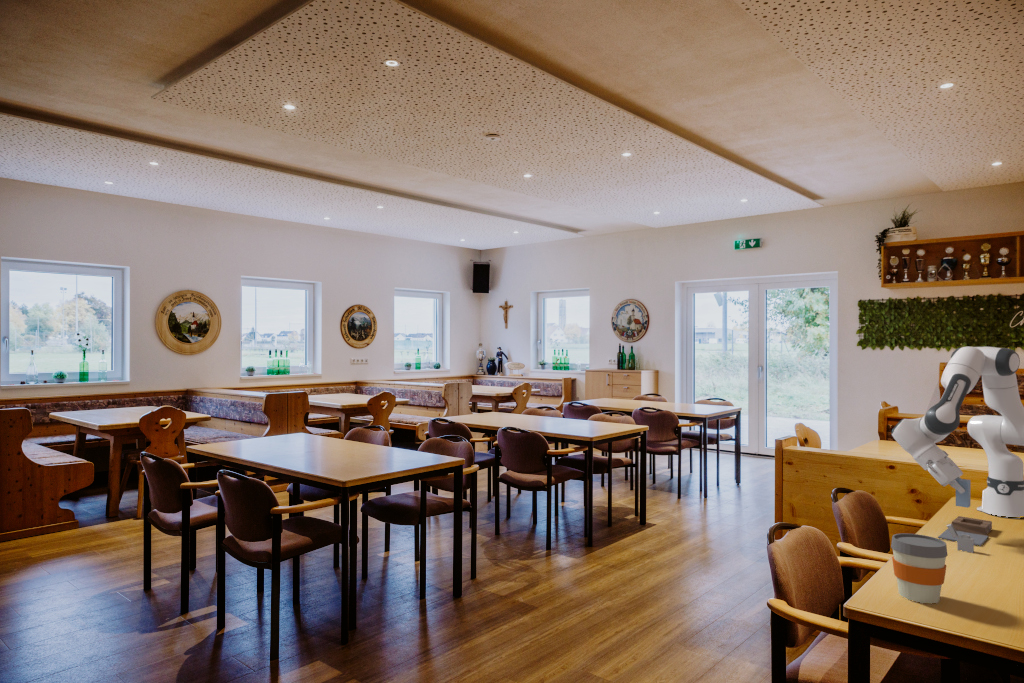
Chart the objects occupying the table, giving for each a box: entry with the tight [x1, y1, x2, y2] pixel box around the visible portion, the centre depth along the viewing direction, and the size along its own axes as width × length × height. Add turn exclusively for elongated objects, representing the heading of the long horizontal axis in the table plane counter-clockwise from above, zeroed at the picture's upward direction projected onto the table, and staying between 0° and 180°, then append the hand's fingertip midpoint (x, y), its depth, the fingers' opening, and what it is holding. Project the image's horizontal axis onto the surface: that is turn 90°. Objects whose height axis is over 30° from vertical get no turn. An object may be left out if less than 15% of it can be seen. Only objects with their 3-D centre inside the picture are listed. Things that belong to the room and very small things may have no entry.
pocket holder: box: [951, 515, 993, 536], centre depth 231 cm, size 12×10×3 cm
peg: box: [955, 478, 972, 508], centre depth 221 cm, size 4×4×9 cm
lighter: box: [946, 523, 975, 554], centre depth 207 cm, size 7×2×8 cm, turn 45°
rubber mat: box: [937, 528, 989, 547], centre depth 220 cm, size 14×12×1 cm
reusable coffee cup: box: [890, 533, 948, 605], centre depth 167 cm, size 13×13×15 cm
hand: (965, 491), depth 220 cm, fingers closed on peg, 4 cm apart
